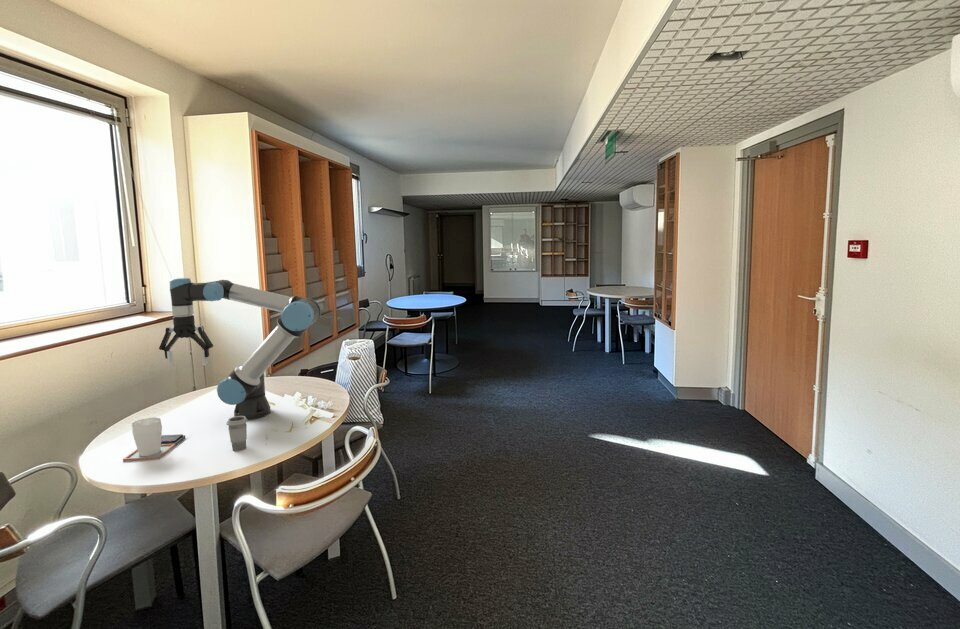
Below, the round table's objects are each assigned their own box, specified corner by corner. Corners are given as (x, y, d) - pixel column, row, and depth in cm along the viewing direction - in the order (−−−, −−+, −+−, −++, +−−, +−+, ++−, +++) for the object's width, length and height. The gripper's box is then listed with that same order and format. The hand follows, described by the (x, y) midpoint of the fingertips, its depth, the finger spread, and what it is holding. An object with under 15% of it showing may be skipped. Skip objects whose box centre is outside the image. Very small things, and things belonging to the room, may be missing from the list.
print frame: (175, 445, 185) (175, 443, 185) (159, 459, 173) (158, 457, 173) (142, 447, 183) (142, 445, 183) (123, 461, 171) (122, 459, 171)
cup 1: (149, 458, 173) (145, 427, 171) (128, 456, 175) (125, 425, 173) (170, 448, 181) (167, 418, 180) (150, 446, 183) (146, 416, 182)
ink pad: (185, 438, 192) (185, 433, 192) (176, 445, 185) (175, 441, 185) (153, 439, 191) (152, 435, 191) (142, 447, 183) (142, 443, 183)
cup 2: (235, 454, 177) (232, 423, 175) (225, 450, 181) (222, 419, 179) (253, 447, 183) (251, 417, 181) (243, 443, 187) (240, 414, 185)
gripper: (219, 313, 203) (223, 362, 206) (156, 314, 200) (161, 364, 203) (211, 316, 196) (215, 366, 199) (145, 317, 193) (151, 368, 196)
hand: (188, 365), depth 201 cm, fingers open, 13 cm apart
